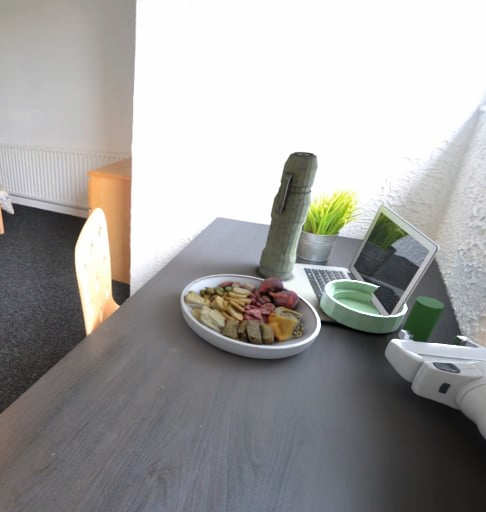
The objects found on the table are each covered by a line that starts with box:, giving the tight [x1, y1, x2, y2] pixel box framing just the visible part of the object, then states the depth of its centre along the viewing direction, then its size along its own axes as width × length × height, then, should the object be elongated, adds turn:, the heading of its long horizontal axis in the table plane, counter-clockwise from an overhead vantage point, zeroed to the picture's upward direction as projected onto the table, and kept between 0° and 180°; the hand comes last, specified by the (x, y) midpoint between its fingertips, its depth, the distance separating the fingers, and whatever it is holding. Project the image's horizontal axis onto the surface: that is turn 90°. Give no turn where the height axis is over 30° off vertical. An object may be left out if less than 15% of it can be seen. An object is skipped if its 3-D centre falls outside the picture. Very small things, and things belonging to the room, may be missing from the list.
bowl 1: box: [180, 273, 321, 360], centre depth 87 cm, size 30×30×8 cm
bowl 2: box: [319, 279, 408, 334], centre depth 89 cm, size 16×16×5 cm
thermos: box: [258, 151, 319, 282], centre depth 101 cm, size 9×12×35 cm
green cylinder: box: [397, 295, 446, 343], centre depth 76 cm, size 4×4×12 cm
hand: (430, 335), depth 73 cm, fingers open, 8 cm apart
